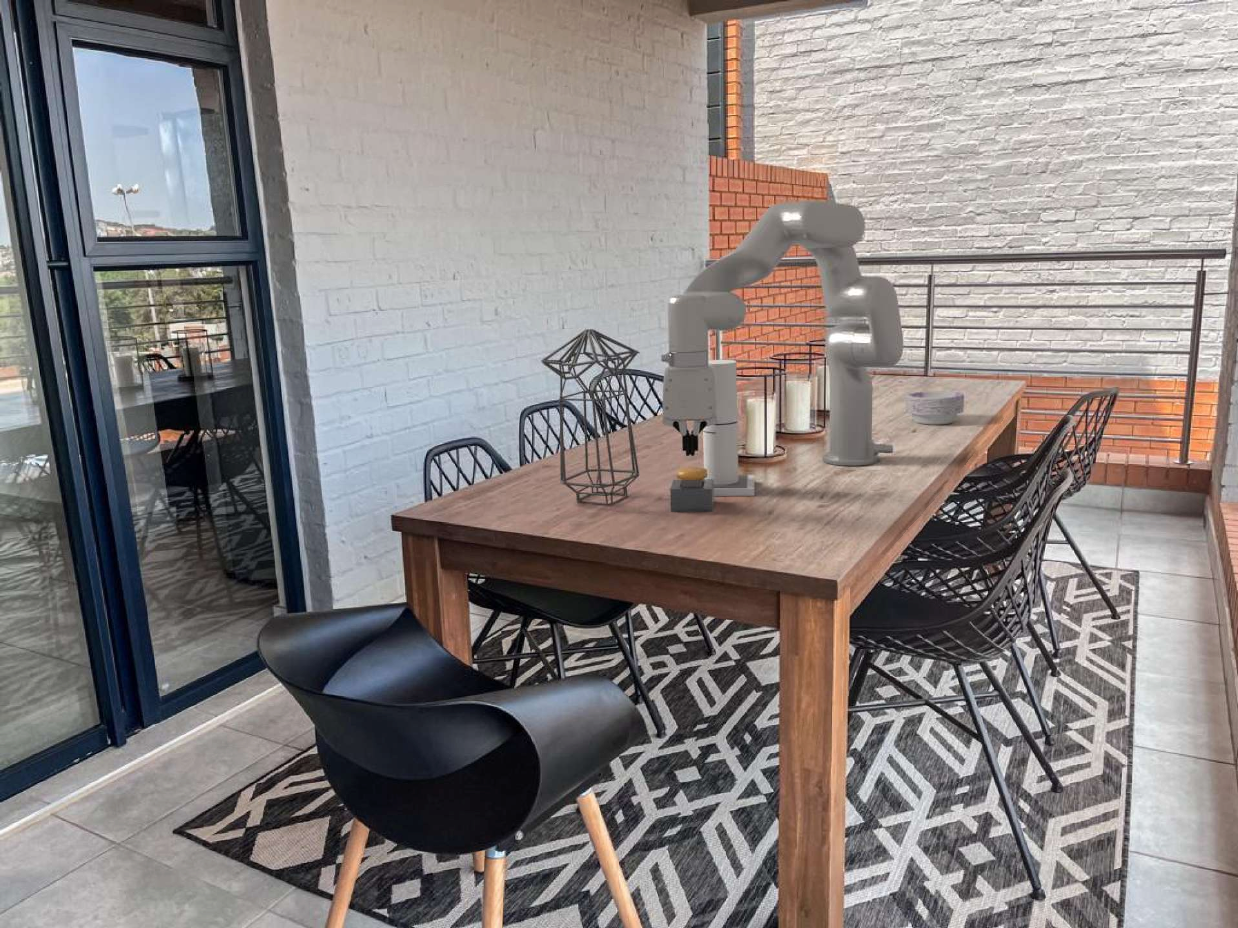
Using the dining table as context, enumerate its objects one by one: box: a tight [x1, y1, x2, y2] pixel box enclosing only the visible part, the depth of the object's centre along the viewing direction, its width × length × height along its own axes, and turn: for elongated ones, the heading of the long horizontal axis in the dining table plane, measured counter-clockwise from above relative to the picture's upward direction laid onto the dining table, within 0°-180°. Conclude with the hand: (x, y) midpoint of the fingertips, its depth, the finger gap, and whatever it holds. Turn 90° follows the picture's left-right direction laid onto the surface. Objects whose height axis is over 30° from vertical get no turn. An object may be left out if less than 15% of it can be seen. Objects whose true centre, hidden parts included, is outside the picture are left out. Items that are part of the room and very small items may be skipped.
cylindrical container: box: [702, 359, 739, 485], centre depth 200 cm, size 7×7×25 cm
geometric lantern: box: [540, 328, 640, 506], centre depth 195 cm, size 16×16×35 cm
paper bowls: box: [905, 390, 965, 426], centre depth 265 cm, size 15×15×8 cm
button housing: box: [669, 478, 715, 513], centre depth 189 cm, size 8×8×4 cm
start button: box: [676, 466, 707, 487], centre depth 189 cm, size 6×6×5 cm
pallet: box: [714, 474, 755, 497], centre depth 203 cm, size 14×12×2 cm
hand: (690, 454), depth 188 cm, fingers closed
